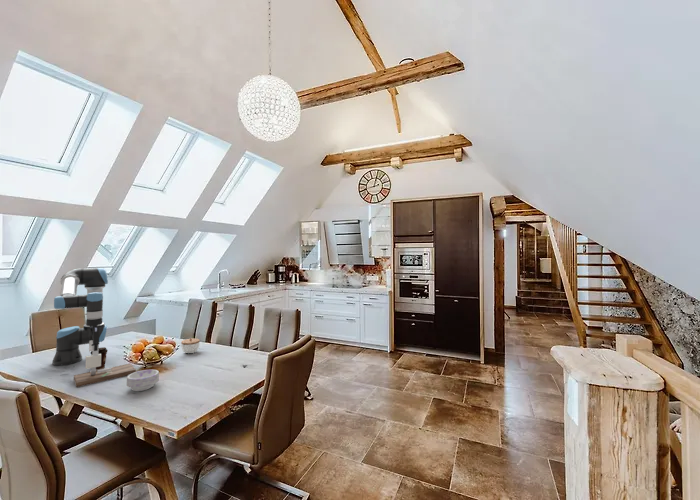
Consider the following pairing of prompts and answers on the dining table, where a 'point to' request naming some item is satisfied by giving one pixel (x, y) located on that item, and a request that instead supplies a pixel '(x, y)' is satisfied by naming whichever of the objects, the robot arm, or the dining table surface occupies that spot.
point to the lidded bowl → (190, 345)
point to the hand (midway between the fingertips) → (93, 353)
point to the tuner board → (103, 375)
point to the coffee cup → (102, 357)
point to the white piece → (94, 364)
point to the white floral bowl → (142, 379)
